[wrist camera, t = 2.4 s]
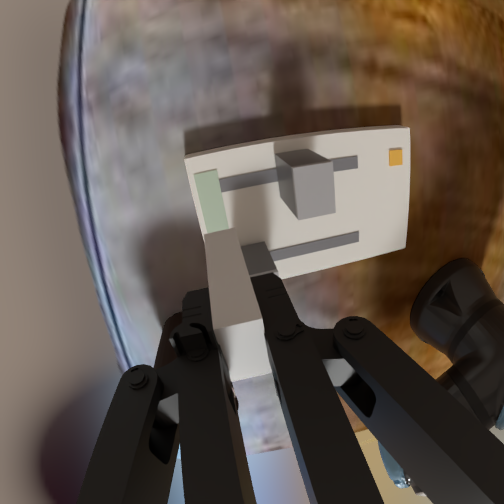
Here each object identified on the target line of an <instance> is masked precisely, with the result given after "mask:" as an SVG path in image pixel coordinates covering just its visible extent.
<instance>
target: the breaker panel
mask: <svg viewBox="0 0 504 504" xmlns="http://www.w3.org/2000/svg"><path fill="white" fill-rule="evenodd" d="M302 149H309V150H311V151H313V152H315V153H317V154H319V155H321V156H323V157H325V158H327V159H329V160H330V161H332V162H333V171H334V187H335V206H336V213H333V214H328V215H323V216H318V217H313V218H308V219H303V220H298V219H297V218H296V217H295V215H294V214H293V213H292V212H291V210H290V209H289V208H288V206H287V205H286V204H285V203H284V201H283V200H282V199H281V198H280V192H279V184H278V176H277V169H276V162H275V155H274V154H276V153H282V152H289V151H295V150H302ZM184 161H185V165H186V170H187V174H188V178H189V183H190V187H191V191H192V195H193V199H194V204H195V208H196V212H197V216H198V220H199V224H200V228H201V232H202V236H203V240H204V234H207V233H212V232H216V231H221V230H225V229H230V228H234V227H235V230H236V234H237V237H238V240H239V243H240V246H245V245H249V244H254V243H259V242H263V241H265V243H266V246H267V248H268V250H269V252H270V254H271V257H272V259H273V261H274V263H275V265H276V268H277V270H278V273H279V277H280V278H281V279H285V278H289V277H293V276H298V275H302V274H306V273H310V272H314V271H318V270H322V269H326V268H330V267H334V266H338V265H342V264H346V263H350V262H354V261H358V260H362V259H366V258H370V257H373V256H377V255H381V254H385V253H389V252H392V251H396V250H400V249H403V248H405V246H406V236H407V224H408V211H409V192H410V128H409V127H405V126H401V125H388V126H372V127H359V128H347V129H337V130H327V131H319V132H310V133H303V134H295V135H288V136H281V137H275V138H269V139H262V140H257V141H251V142H245V143H240V144H235V145H229V146H224V147H219V148H215V149H210V150H205V151H201V152H196V153H192V154H187V155H185V158H184ZM204 244H205V241H204Z"/></svg>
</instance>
